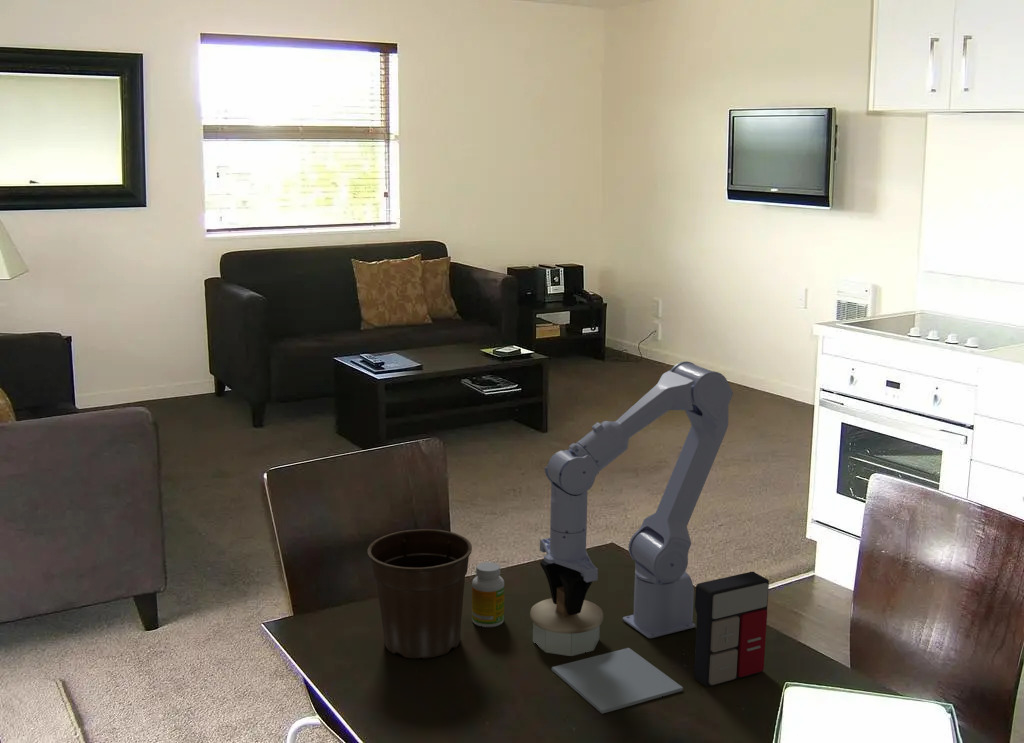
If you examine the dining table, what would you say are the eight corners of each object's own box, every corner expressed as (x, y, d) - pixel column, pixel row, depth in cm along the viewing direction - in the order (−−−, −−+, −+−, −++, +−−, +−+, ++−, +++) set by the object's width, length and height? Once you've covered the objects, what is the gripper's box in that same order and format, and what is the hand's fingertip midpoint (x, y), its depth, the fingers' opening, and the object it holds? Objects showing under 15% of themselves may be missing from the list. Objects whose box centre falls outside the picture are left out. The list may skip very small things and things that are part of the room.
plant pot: (384, 674, 156) (382, 573, 153) (359, 629, 171) (357, 536, 167) (486, 656, 162) (486, 558, 158) (453, 614, 176) (453, 523, 173)
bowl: (576, 621, 174) (576, 599, 173) (609, 646, 165) (610, 623, 164) (523, 634, 169) (524, 611, 168) (554, 660, 161) (555, 636, 160)
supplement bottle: (500, 629, 171) (500, 574, 169) (468, 626, 172) (468, 571, 170) (507, 615, 176) (507, 561, 174) (476, 612, 177) (476, 558, 175)
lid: (578, 596, 174) (579, 569, 173) (617, 624, 164) (618, 595, 163) (517, 610, 169) (517, 582, 168) (553, 639, 159) (554, 610, 158)
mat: (628, 650, 164) (628, 647, 164) (682, 690, 152) (683, 687, 152) (551, 670, 157) (551, 667, 157) (602, 713, 145) (602, 710, 145)
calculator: (708, 690, 152) (713, 594, 149) (690, 677, 156) (695, 583, 153) (767, 673, 157) (773, 580, 154) (748, 661, 161) (753, 570, 158)
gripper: (524, 516, 168) (523, 595, 170) (570, 546, 155) (568, 631, 158) (561, 510, 171) (560, 587, 174) (610, 539, 158) (607, 621, 161)
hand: (566, 607), depth 166 cm, fingers open, 4 cm apart
